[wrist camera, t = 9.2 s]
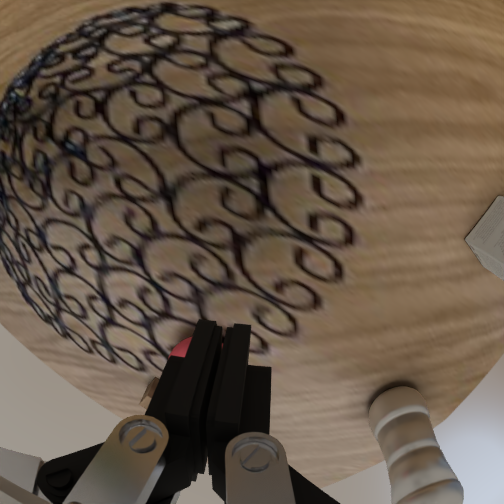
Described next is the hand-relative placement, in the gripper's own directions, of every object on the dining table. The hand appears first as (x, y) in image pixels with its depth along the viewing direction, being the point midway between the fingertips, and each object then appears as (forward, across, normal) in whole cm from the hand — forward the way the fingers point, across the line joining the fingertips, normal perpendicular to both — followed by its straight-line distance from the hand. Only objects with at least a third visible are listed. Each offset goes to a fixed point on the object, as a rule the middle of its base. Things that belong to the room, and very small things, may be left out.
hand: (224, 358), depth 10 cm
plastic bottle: (+16, -17, +18) cm, 29 cm away
